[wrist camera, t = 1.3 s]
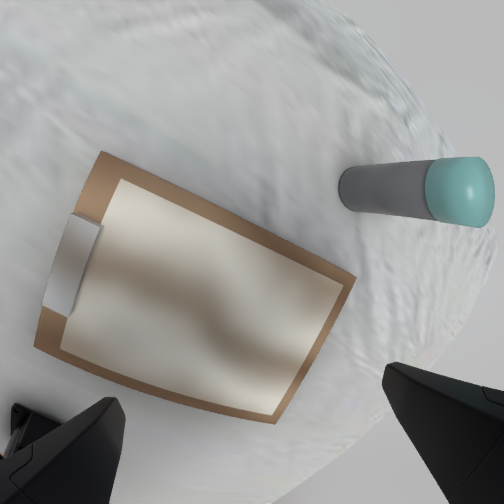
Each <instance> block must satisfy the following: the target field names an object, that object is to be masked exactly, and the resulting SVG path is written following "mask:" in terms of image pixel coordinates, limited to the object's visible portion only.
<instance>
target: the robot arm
mask: <svg viewBox="0 0 504 504" xmlns="http://www.w3.org/2000/svg"><path fill="white" fill-rule="evenodd" d="M382 387H383V390H384V392H385V394H386V396H387V398H388V401H389V403H390V405H391V407H392V409H393V411H394V413H395V415H396V417H397V419H398V421H399V422H400V424H401V425H402V427H403V429H404V430H405V432H406V433H407V435H408V437H409V438H410V440H411V441H412V443H413V445H414V446H415V448H416V449H417V451H418V453H419V454H420V456H421V458H422V459H423V461H424V462H425V464H426V466H427V467H428V469H429V471H430V472H431V474H432V475H433V477H434V479H435V480H436V482H437V484H438V485H439V487H440V489H441V490H442V492H443V493H444V495H445V497H446V499H447V500H448V502H449V504H504V391H501V390H497V389H492V388H488V387H484V386H482V387H481V386H479V385H475V384H472V383H468V382H464V381H461V380H457V379H453V378H449V377H446V376H443V375H439V374H436V373H432V372H429V371H426V370H422V369H419V368H416V367H412V366H409V365H406V364H403V363H399V362H393V363H390V364H387V365H386V367H385V371H384V375H383V379H382ZM16 409H17V410H16ZM124 428H125V413H124V411H123V409H122V407H121V405H120V403H119V401H118V399H117V398H115V397H105V398H103V399H101V400H100V401H98V402H97V403H95V404H94V405H92V406H91V407H89V408H88V409H86V410H85V411H83V412H81V413H80V414H78V415H77V416H75V417H74V418H72V419H71V420H69V421H67V422H66V423H64V424H63V425H61V424H58V423H56V422H54V421H52V420H49V419H47V418H45V417H43V416H41V415H38V414H36V413H34V412H32V411H30V410H28V409H26V408H24V407H22V406H20V405H18V404H13V406H12V408H11V438H10V440H9V443H8V445H7V448H6V450H5V452H4V455H3V456H1V455H0V504H109V501H110V497H111V492H112V488H113V484H114V480H115V476H116V472H117V468H118V464H119V460H120V456H121V450H122V443H123V435H124Z"/></svg>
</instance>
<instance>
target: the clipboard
mask: <svg viewBox="0 0 504 504" xmlns="http://www.w3.org/2000/svg"><path fill="white" fill-rule="evenodd" d="M356 278H357V277H355V276H353V275H351V274H350V273H348V272H346V271H344V270H342V269H340V268H338V267H336V266H334V265H333V264H331V263H329V262H327V261H325V260H323V259H321V258H319V257H317V256H315V255H313V254H311V253H309V252H308V251H306V250H304V249H302V248H300V247H298V246H296V245H294V244H292V243H290V242H288V241H286V240H284V239H282V238H280V237H278V236H276V235H274V234H272V233H270V232H268V231H266V230H264V229H262V228H261V227H259V226H257V225H255V224H253V223H251V222H249V221H247V220H245V219H243V218H241V217H239V216H237V215H235V214H233V213H231V212H228V211H226V210H224V209H222V208H220V207H218V206H216V205H214V204H212V203H210V202H208V201H206V200H204V199H202V198H200V197H198V196H196V195H194V194H192V193H190V192H188V191H186V190H183V189H181V188H179V187H177V186H175V185H173V184H171V183H169V182H167V181H165V180H163V179H161V178H158V177H156V176H154V175H152V174H150V173H148V172H146V171H144V170H142V169H139V168H137V167H135V166H133V165H131V164H129V163H127V162H124V161H122V160H120V159H118V158H116V157H114V156H112V155H109V154H107V153H105V152H103V151H101V152H100V154H99V156H98V158H97V160H96V162H95V164H94V166H93V168H92V170H91V172H90V174H89V177H88V179H87V181H86V183H85V185H84V188H83V190H82V192H81V195H80V197H79V199H78V202H77V204H76V207H75V209H74V211H73V213H71V215H70V217H69V220H68V223H67V225H66V228H65V231H64V233H63V236H62V239H61V242H60V245H59V247H58V250H57V253H56V256H55V259H54V263H53V266H52V269H51V272H50V276H49V279H48V282H47V286H46V289H45V293H44V297H43V301H42V305H43V306H42V310H41V315H40V319H39V323H38V328H37V332H36V337H35V342H34V347H35V348H37V349H39V350H41V351H43V352H45V353H47V354H50V355H52V356H54V357H56V358H58V359H60V360H62V361H64V362H67V363H69V364H71V365H73V366H76V367H78V368H80V369H83V370H85V371H87V372H90V373H92V374H95V375H97V376H100V377H102V378H105V379H107V380H110V381H113V382H115V383H118V384H121V385H123V386H126V387H129V388H132V389H135V390H138V391H141V392H144V393H147V394H150V395H153V396H156V397H159V398H163V399H166V400H169V401H173V402H176V403H180V404H183V405H187V406H191V407H194V408H198V409H202V410H206V411H210V412H215V413H219V414H223V415H228V416H232V417H237V418H242V419H247V420H253V421H258V422H264V423H270V424H276V423H277V421H278V420H279V418H280V416H281V415H282V413H283V412H284V410H285V409H286V407H287V405H288V404H289V402H290V400H291V399H292V397H293V396H294V394H295V392H296V391H297V389H298V387H299V386H300V384H301V382H302V381H303V379H304V377H305V375H306V374H307V372H308V370H309V368H310V367H311V365H312V363H313V361H314V360H315V358H316V356H317V354H318V353H319V351H320V349H321V347H322V345H323V343H324V342H325V340H326V338H327V336H328V334H329V332H330V330H331V328H332V327H333V325H334V323H335V321H336V319H337V317H338V315H339V313H340V311H341V309H342V307H343V305H344V303H345V301H346V299H347V297H348V295H349V293H350V291H351V289H352V287H353V285H354V282H355V280H356Z"/></svg>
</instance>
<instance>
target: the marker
mask: <svg viewBox="0 0 504 504" xmlns="http://www.w3.org/2000/svg"><path fill="white" fill-rule="evenodd" d="M339 192H340V196H341V199H342V201H343V203H344V204H345V205H346V206H347V207H348V208H349V209H351V210H353V211H358V212H367V213H377V214H386V215H395V216H403V217H411V218H419V219H427V220H435V221H439V222H443V223H450V224H457V225H463V226H470V227H476V228H481V227H483V226H485V225H486V224H487V223H488V221H489V219H490V217H491V215H492V211H493V208H494V201H495V189H494V181H493V177H492V173H491V171H490V168H489V166H488V165H487V163H486V162H485V161H484V160H483V159H482V158H480V157H459V158H441V159H437V160H424V161H410V162H398V163H387V164H376V165H367V166H357V167H352V168H349V169H348V170H346V171H345V172H344V174H343V175H342V177H341V180H340V184H339Z"/></svg>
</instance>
